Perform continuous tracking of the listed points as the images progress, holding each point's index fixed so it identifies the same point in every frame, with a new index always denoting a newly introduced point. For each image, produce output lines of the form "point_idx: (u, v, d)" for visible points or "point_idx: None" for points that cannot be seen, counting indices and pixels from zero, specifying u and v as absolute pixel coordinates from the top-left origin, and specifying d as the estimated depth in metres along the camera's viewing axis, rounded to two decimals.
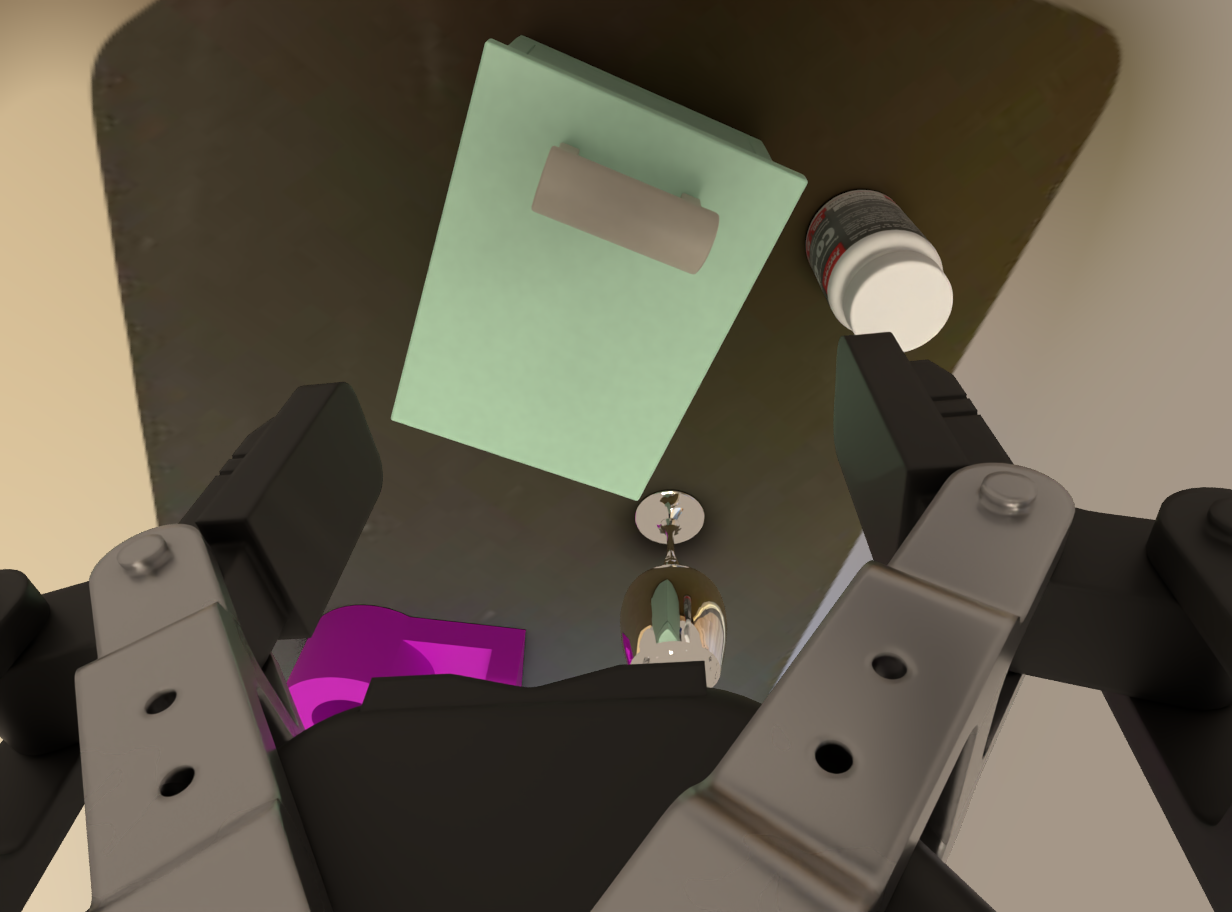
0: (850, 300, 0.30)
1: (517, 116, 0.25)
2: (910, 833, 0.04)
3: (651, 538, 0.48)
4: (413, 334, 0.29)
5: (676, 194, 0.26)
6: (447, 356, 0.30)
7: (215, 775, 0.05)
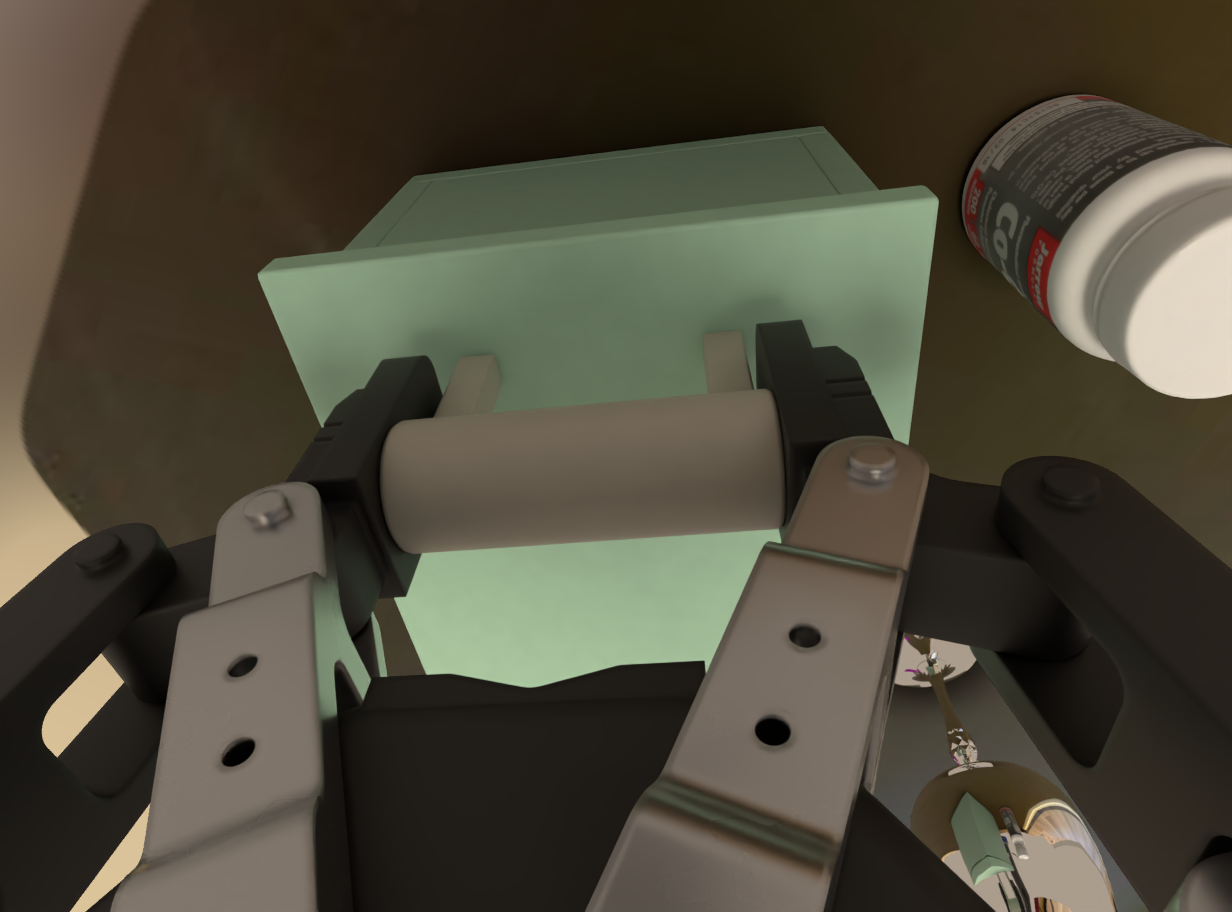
0: (1117, 337, 0.15)
1: (372, 354, 0.14)
2: (854, 785, 0.05)
3: (912, 685, 0.33)
4: None
5: (693, 341, 0.13)
6: None
7: (272, 755, 0.06)
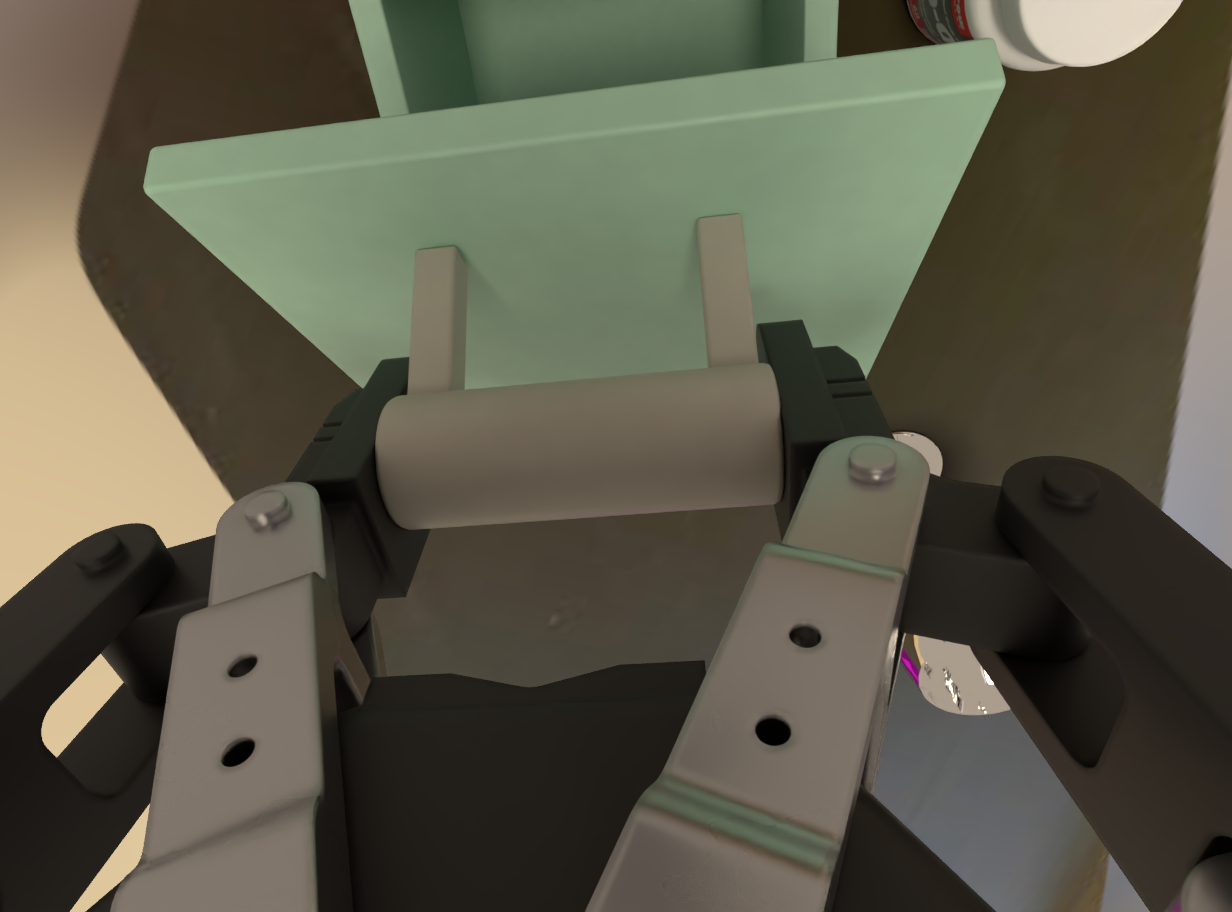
0: (1014, 8, 0.18)
1: (312, 252, 0.12)
2: (855, 784, 0.05)
3: None
4: None
5: (685, 224, 0.12)
6: None
7: (272, 755, 0.06)
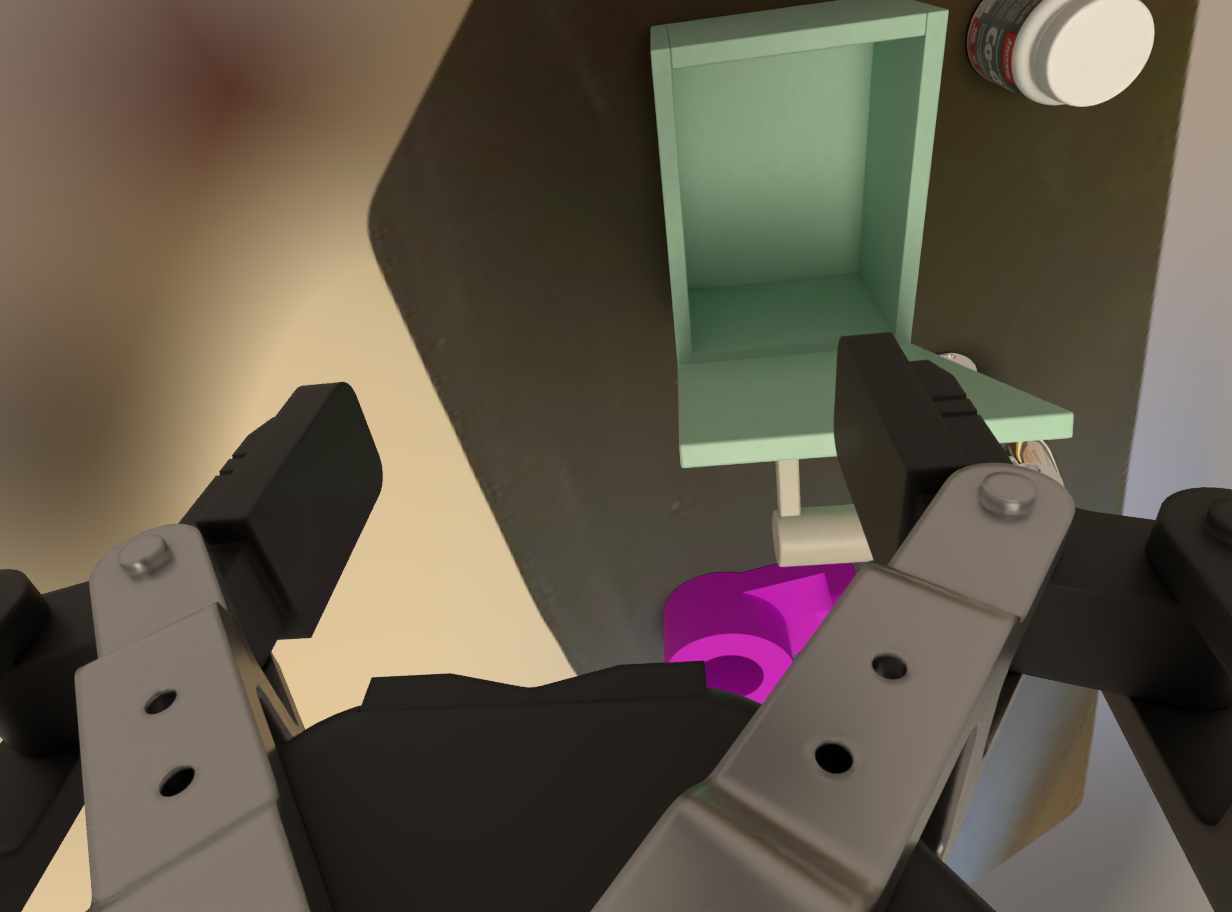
0: (1043, 72, 0.30)
1: None
2: (910, 833, 0.04)
3: None
4: None
5: None
6: None
7: (215, 775, 0.05)
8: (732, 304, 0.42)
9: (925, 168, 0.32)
